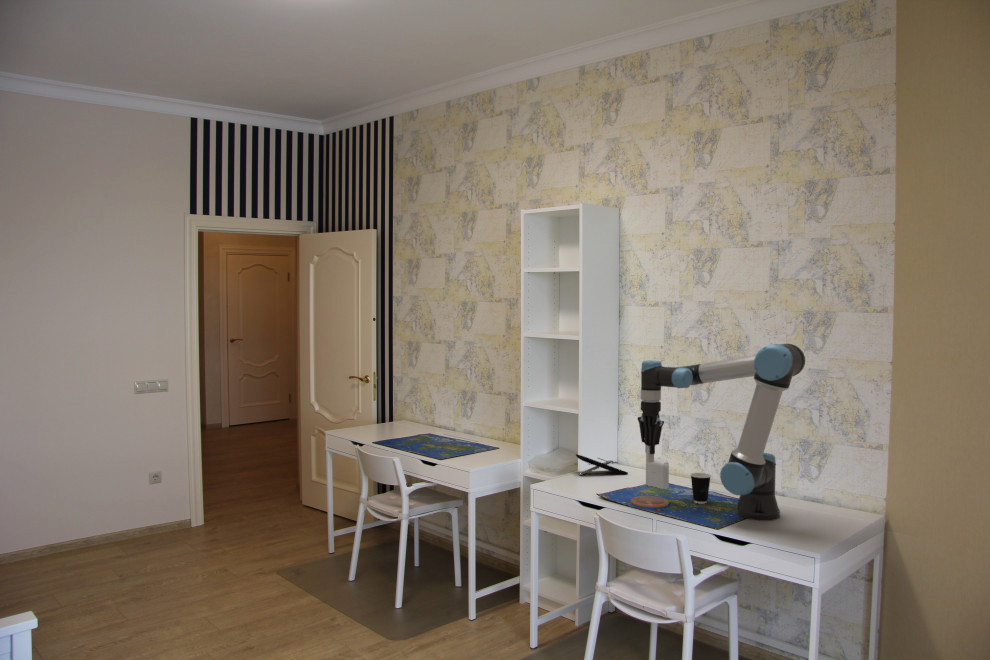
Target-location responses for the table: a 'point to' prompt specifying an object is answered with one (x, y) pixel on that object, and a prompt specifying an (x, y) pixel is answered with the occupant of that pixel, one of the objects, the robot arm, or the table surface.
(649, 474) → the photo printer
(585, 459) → the black folding stand
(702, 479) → the dixie cup
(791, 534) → the table surface
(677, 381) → the robot arm
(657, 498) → the dish
